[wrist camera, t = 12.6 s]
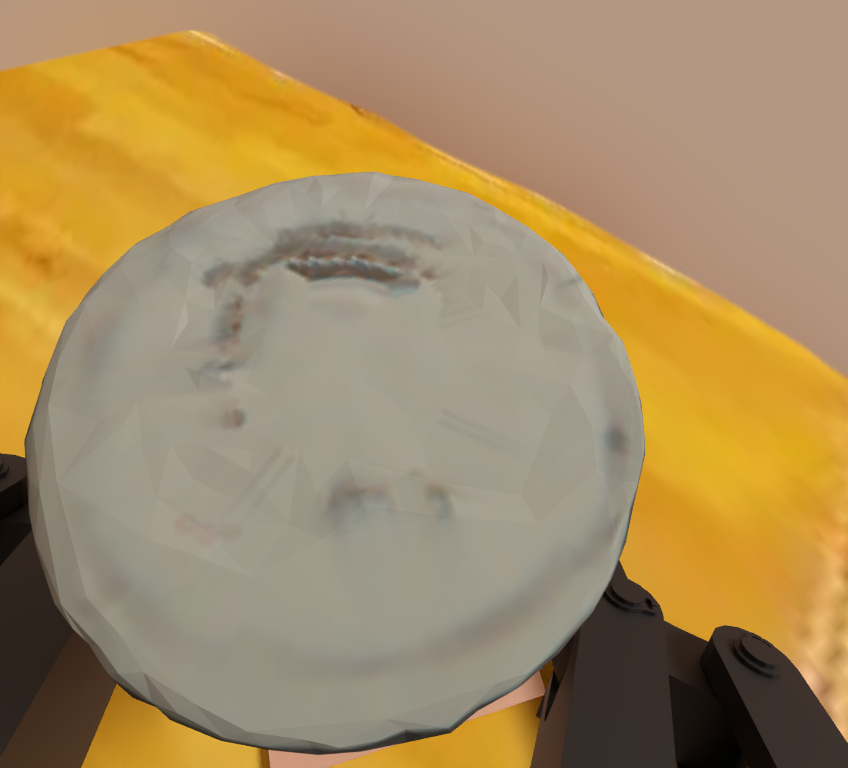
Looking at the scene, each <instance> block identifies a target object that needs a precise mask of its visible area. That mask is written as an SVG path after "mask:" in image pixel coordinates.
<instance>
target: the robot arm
mask: <svg viewBox="0 0 848 768" xmlns="http://www.w3.org/2000/svg"><path fill="white" fill-rule="evenodd" d="M552 660H553V665H554V670H553V673H552V676H551V678H550V681H549V683H548V686H547V688H546V691H545V694H544V696H543V699H542V701H541V704H540V707H539V709H538V712H537V714H536V716H537V717H539V718H541V719H540V724H539V728H538V733H537V738H536V743H535V748H534V753H533V757H532V762H531V767H530V768H848V743H847V742H846V740H845V739H844V737H843V736H842V734H841V733H840V731H839V730H838V728H837V727H836V725H835V724H834V722H833V721H832V719H831V718H830V716H829V715H828V713H827V712H826V710H825V709H824V708H823V706H822V705H821V703H820V702H819V700H818V699H817V697H816V696H815V694H814V693H813V691H812V690H811V688H810V687H809V685H808V684H807V682H806V681H805V679H804V678H803V676H802V675H801V673H800V672H799V671H798V669H797V668H796V667H795V666H794V665H793V664H792V662H791V661H790V660H789V659H788V658H787V657H786V656H785V655H784V654H783V653H782V652H780V651H779V650H778V649H777V648H775V647H774V646H773V645H772V644H771V643H770V642H768V641H767V640H765V639H764V638H763V639H762V638H761V637H760V636H758V635H756V634H754V633H751V632H748V631H746V630H743V629H741V628H738V627H732V626H726V625H724V626H721V627H717V628H715V630H714V632H713V634H712V636H711V638H710V640H709V642H708V641H705V640H703V639H701V638H699V637H697V636H695V635H692V634H690V633H688V632H686V631H684V630H682V629H679V628H677V627H675V626H673V625H672V624H670V623H668V622H666V621H664V618H663V613H662V610H661V608H660V605H659V604H658V603H657V601H656V600H655V599H654V598H653V596H652V595H651V594H650V593H649V592H647V591H646V590H645V589H644V588H642V587H641V586H640V585H638V584H636V583H635V582H633V581H631V580H629V579H627V576H626V574H625V572H624V570H623V567H622V565H621V563H620V561H618V563H617V566H616V569H615V571H614V574H613V576H612V579H611V581H610V582H609V584H608V586H607V588H606V589H605V591H604V593H603V595H602V596H601V598H600V600H599V602H598V603H597V605H596V607H595V609H594V611H593V612H592V614H591V615H590V616H589V617H588V618H587V619H586V621H585V622H584V623H583V624H582V625H581V627H580V628H579V629H578V630H577V632H576V633H575V634H574V635H573V636H572V638H571V639H570V640H569V641H568V643H567V644H566V645H565V646H564V647H563V649H562V650H561V651H560V652H559V653H558V654H557V655H556V656H555V657H554V658H552ZM542 669H543V667H542V668H541V669H540V670H542ZM115 686H116V682H115V681H114V680H113V679H111V678H110V677H109V676H108V675H107V673H106V672H105V670H104V668H103V667H102V665H101V663H100V662H99V660H98V658H97V657H96V655H95V653H94V652H93V650H92V648H91V647H90V645H89V644H88V643H87V642H86V641H85V640H84V639H83V638H82V637H81V636H80V635H79V634H78V633H77V632H76V631H75V630H74V629H73V628H72V627H71V626H70V624H69V623H68V622H67V620H66V619H65V618H64V617H63V615H62V614H61V613H60V611H59V610H58V608H57V606H56V605H55V603H54V600H53V597H52V595H51V592H50V589H49V586H48V583H47V581H46V578H45V575H44V572H43V569H42V566H41V564H40V561H39V558H38V555H37V551H36V546H35V541H34V536H33V531H32V526H31V521H30V516H29V505H28V488H27V473H26V458H23V457H20V456H17V455H10V454H1V453H0V768H81V766H82V764H83V762H84V759H85V757H86V755H87V752H88V750H89V747H90V745H91V743H92V740H93V738H94V736H95V733H96V731H97V728H98V726H99V724H100V721H101V719H102V717H103V714H104V712H105V709H106V707H107V705H108V702H109V700H110V697H111V695H112V693H113V690H114V688H115Z"/></svg>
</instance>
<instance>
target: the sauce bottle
mask: <svg viewBox="0 0 848 768" xmlns="http://www.w3.org/2000/svg"><path fill="white" fill-rule="evenodd" d="M644 457H645V436H644V426H643V416H642V406H641V400H640V396H639V392H638V388H637V384H636V380H635V377H634V374H633V371H632V368H631V364H630V361H629V358H628V355H627V352H626V349H625V347H624V344H623V341H622V340H621V339H620V338H619V336H618V335H617V334H616V333H615V331H614V330H613V329H612V328H611V326H610V325H609V324H608V323H607V321H606V320H605V319H604V317H603V314H602V312H601V310H600V308H599V306H598V303H597V301H596V299H595V297H594V294H593V293H592V291H591V290H590V289H589V287H588V286H587V285H586V283H585V282H584V281H583V279H582V278H581V277H580V275H579V274H578V273H577V271H576V270H575V269H574V267H573V266H572V265H571V264H570V262H569V261H568V260H567V259H566V258H565V256H564V255H563V254H562V253H561V252H560V251H558V250H557V249H556V248H554V247H553V246H552V245H551V244H549V243H548V242H547V241H545V240H544V239H543V238H541V237H540V236H539V235H538V234H536V233H535V232H534V231H532V230H531V229H530V228H529V227H527V226H526V225H524V224H522V223H520V222H519V221H517V220H515V219H514V218H512V217H510V216H509V215H507V214H505V213H504V212H502V211H500V210H499V209H497V208H495V207H493V206H492V205H490V204H488V203H486V202H484V201H482V200H480V199H478V198H476V197H475V196H473V195H471V194H469V193H466V192H462V191H459V190H455V189H451V188H448V187H444V186H440V185H436V184H433V183H429V182H425V181H421V180H417V179H412V178H405V177H397V176H391V175H387V174H382V173H378V172H364V173H348V174H337V175H321V176H311V177H306V178H300V179H295V180H290V181H284V182H279V183H274V184H271V185H269V186H266V187H263V188H260V189H257V190H254V191H251V192H249V193H246V194H243V195H240V196H237V197H234V198H231V199H228V200H225V201H221V202H218V203H215V204H212V205H209V206H206V207H203V208H200V209H197V210H194V211H191V212H189V213H187V214H186V215H184V216H183V217H181V218H180V219H179V220H177V221H176V222H174V223H173V224H171V225H170V226H168V227H167V228H165V229H163V230H161V231H159V232H157V233H155V234H153V235H151V236H149V237H147V238H145V239H143V240H142V241H140V242H138V243H137V244H135V245H134V246H133V247H131V248H130V249H129V250H128V251H127V252H126V253H125V254H124V255H123V256H122V257H121V258H120V259H119V260H118V261H117V262H115V263H114V264H113V265H112V266H111V267H110V268H109V269H108V270H107V271H106V272H105V273H104V274H103V275H102V276H101V277H100V279H99V280H98V281H97V282H96V283H95V284H94V286H93V287H92V288H91V289H90V290H89V292H88V293H87V294H86V295H85V297H84V299H83V300H82V302H81V303H80V305H79V306H78V308H77V309H76V310H75V311H74V313H73V314H72V315H71V316H70V317H69V319H68V320H67V321H66V323H65V325H64V328H63V330H62V333H61V335H60V337H59V340H58V342H57V345H56V348H55V350H54V353H53V355H52V358H51V360H50V363H49V365H48V368H47V370H46V373H45V376H44V378H43V381H42V387H41V390H40V393H39V396H38V399H37V403H36V406H35V409H34V412H33V415H32V418H31V422H30V425H29V428H28V431H27V434H26V437H25V458H26V473H27V488H28V505H29V516H30V521H31V526H32V531H33V536H34V541H35V546H36V551H37V555H38V558H39V561H40V564H41V566H42V569H43V572H44V575H45V578H46V581H47V583H48V586H49V589H50V592H51V595H52V597H53V600H54V603H55V605H56V606H57V608H58V610H59V611H60V613H61V614H62V615H63V617H64V618H65V619H66V620H67V622H68V623H69V624H70V626H71V627H72V628H73V629H74V630H75V631H76V632H77V633H78V634H79V635H80V636H81V637H82V638H83V639H84V640H85V641H86V642H87V643H88V644H89V645H90V647H91V648H92V650H93V652H94V653H95V655H96V657H97V658H98V660H99V662H100V663H101V665H102V667H103V668H104V670H105V672H106V673H107V675H108V676H109V677H110V678H111V679H113V680H114V681H115V682H116V683H117V684H118V685H119V686H120V687H121V688H123V689H124V690H125V691H126V692H127V693H128V694H129V695H130V696H131V697H133V698H135V699H138V700H140V701H142V702H145V703H147V704H150V705H152V706H155V707H157V708H158V709H159V710H160V711H161V712H162V713H163V714H164V715H166V716H167V717H168V718H169V719H170V720H172V721H174V722H177V723H179V724H182V725H184V726H186V727H189V728H191V729H194V730H196V731H199V732H201V733H203V734H206V735H208V736H211V737H213V738H216V739H218V740H220V741H225V742H230V743H236V744H241V745H246V746H251V747H257V748H262V749H267V750H273V751H283V752H293V753H303V754H313V755H325V754H338V753H350V752H362V751H367V750H372V749H377V748H382V747H386V746H391V745H396V744H401V743H406V742H410V741H415V740H420V739H424V738H429V737H434V736H438V735H443V734H448V733H451V732H452V731H453V730H455V729H456V728H457V727H458V726H460V725H461V724H462V723H463V722H465V721H466V720H467V719H468V718H470V717H471V716H472V715H473V714H475V713H476V712H477V711H478V710H480V709H482V708H484V707H486V706H487V705H489V704H491V703H493V702H495V701H496V700H498V699H500V698H502V697H504V696H505V695H507V694H509V693H511V692H513V691H514V690H516V689H517V688H519V687H520V686H522V685H523V684H524V683H525V682H526V681H527V680H528V679H530V678H531V677H532V676H533V675H534V674H535V673H536V672H538V671H539V670H540V669H541V668H542V667H543V666H544V665H546V664H547V663H548V662H549V661H550V660H551V659H552V658H554V657H555V656H556V655H557V654H558V653H559V652H560V651H561V650H562V649H563V647H564V646H565V645H566V644H567V643H568V641H569V640H570V639H571V638H572V636H573V635H574V634H575V633H576V632H577V630H578V629H579V628H580V627H581V625H582V624H583V623H584V622H585V621H586V619H587V618H588V617H589V616H590V615H591V614H592V612H593V611H594V609H595V607H596V605H597V603H598V602H599V600H600V598H601V596H602V595H603V593H604V591H605V589H606V588H607V586H608V584H609V582H610V581H611V579H612V576H613V574H614V571H615V569H616V566H617V563H618V561H619V558H620V556H621V553H622V551H623V548H624V545H625V543H626V538H627V533H628V528H629V524H630V519H631V514H632V509H633V505H634V500H635V496H636V492H637V487H638V483H639V479H640V474H641V470H642V465H643V461H644Z"/></svg>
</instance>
